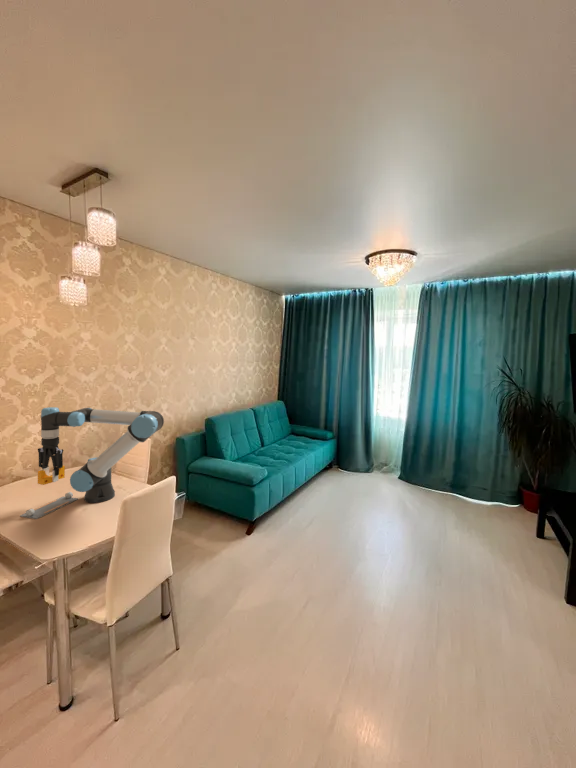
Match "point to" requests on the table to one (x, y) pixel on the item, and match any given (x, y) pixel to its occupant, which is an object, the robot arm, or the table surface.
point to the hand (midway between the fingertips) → (50, 480)
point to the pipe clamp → (46, 479)
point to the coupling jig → (49, 507)
